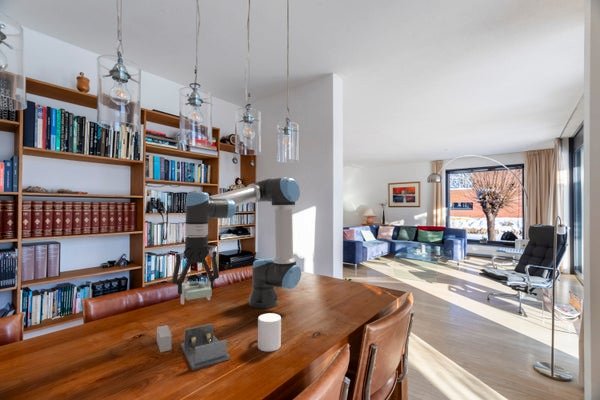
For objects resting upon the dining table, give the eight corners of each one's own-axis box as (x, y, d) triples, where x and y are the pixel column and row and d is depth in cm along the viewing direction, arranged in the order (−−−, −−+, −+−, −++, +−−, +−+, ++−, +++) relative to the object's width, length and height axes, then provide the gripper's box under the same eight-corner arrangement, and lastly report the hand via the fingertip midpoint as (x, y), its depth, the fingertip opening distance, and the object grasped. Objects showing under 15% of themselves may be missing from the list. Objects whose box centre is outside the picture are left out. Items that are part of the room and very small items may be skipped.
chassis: (180, 345, 101) (181, 329, 102) (214, 337, 108) (214, 322, 108) (192, 370, 86) (192, 350, 87) (230, 359, 93) (230, 340, 93)
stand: (156, 340, 105) (157, 327, 105) (166, 338, 107) (167, 325, 107) (160, 352, 97) (160, 337, 97) (171, 349, 99) (171, 335, 99)
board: (180, 290, 102) (180, 280, 102) (203, 287, 106) (203, 278, 106) (186, 299, 92) (186, 289, 92) (211, 296, 96) (211, 286, 96)
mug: (263, 323, 97) (250, 312, 107) (263, 354, 96) (250, 339, 107) (285, 318, 101) (270, 308, 111) (284, 348, 101) (270, 335, 111)
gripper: (165, 238, 91) (164, 309, 90) (229, 235, 102) (228, 299, 101) (162, 236, 97) (161, 303, 97) (223, 233, 108) (222, 293, 108)
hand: (195, 301), depth 99 cm, fingers closed on board, 8 cm apart
